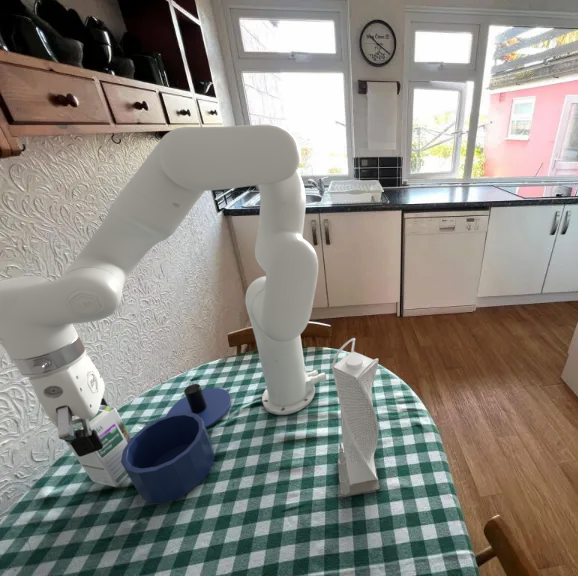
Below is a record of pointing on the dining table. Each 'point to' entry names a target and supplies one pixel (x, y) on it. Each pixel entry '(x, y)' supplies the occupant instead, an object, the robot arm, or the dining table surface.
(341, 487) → the skyscraper
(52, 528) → the dining table surface
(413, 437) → the dining table surface
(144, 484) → the pot
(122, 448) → the syrup box
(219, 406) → the lid
